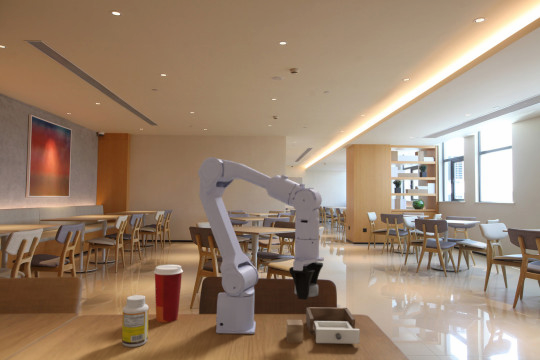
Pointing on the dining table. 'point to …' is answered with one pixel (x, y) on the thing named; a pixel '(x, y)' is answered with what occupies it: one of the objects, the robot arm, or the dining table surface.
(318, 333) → the white drawer
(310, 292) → the grey dome
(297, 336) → the wooden block
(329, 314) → the open square box
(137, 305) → the supplement bottle
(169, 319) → the paper cup
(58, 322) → the dining table surface
